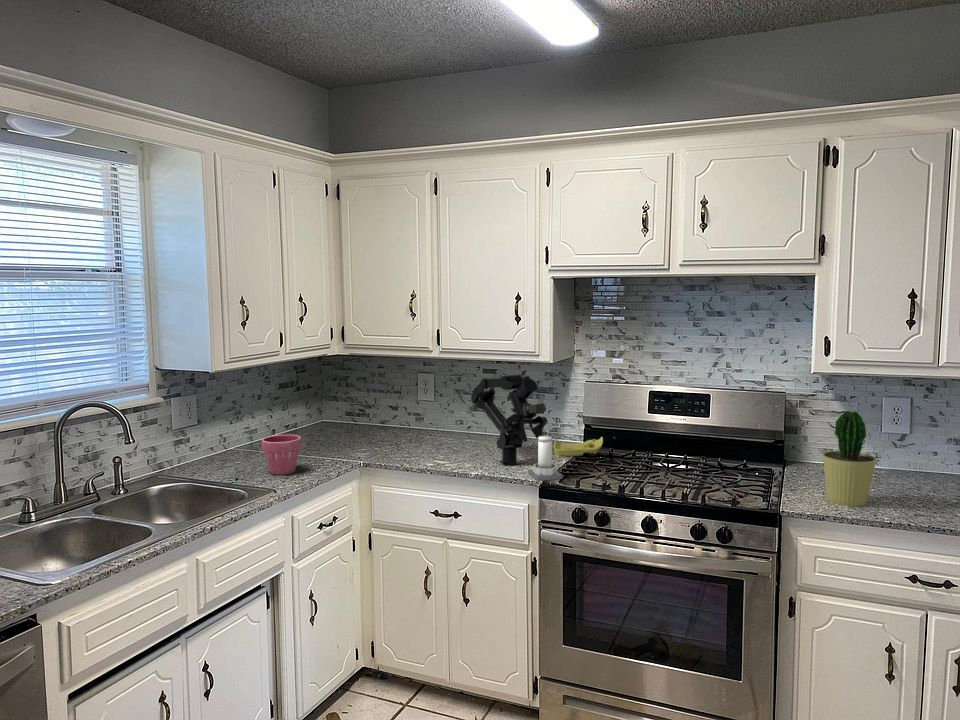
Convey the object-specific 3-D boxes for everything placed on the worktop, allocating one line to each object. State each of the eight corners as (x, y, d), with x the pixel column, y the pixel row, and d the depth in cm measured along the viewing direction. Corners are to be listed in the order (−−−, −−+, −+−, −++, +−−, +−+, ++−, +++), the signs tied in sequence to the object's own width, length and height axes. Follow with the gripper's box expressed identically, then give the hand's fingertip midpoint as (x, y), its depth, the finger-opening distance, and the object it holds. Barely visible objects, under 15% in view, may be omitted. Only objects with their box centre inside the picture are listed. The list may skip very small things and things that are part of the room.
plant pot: (258, 469, 272) (257, 436, 270) (295, 465, 279) (294, 432, 277) (268, 478, 259) (267, 443, 258) (306, 473, 267) (305, 439, 265)
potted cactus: (871, 497, 237) (876, 407, 234) (876, 510, 223) (881, 415, 220) (819, 491, 243) (824, 404, 240) (821, 504, 229) (825, 411, 226)
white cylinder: (539, 470, 265) (539, 435, 264) (553, 470, 264) (553, 436, 263) (536, 473, 260) (536, 438, 259) (551, 474, 259) (551, 439, 258)
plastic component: (553, 450, 293) (555, 435, 302) (555, 464, 297) (557, 449, 305) (602, 449, 288) (603, 434, 297) (603, 463, 292) (604, 448, 300)
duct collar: (527, 474, 266) (527, 463, 265) (552, 472, 268) (552, 461, 268) (537, 480, 256) (537, 470, 256) (562, 478, 259) (562, 467, 259)
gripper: (520, 392, 261) (534, 431, 255) (551, 396, 275) (565, 433, 268) (498, 406, 267) (511, 444, 261) (530, 410, 281) (543, 446, 274)
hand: (534, 442), depth 266 cm, fingers open, 9 cm apart
